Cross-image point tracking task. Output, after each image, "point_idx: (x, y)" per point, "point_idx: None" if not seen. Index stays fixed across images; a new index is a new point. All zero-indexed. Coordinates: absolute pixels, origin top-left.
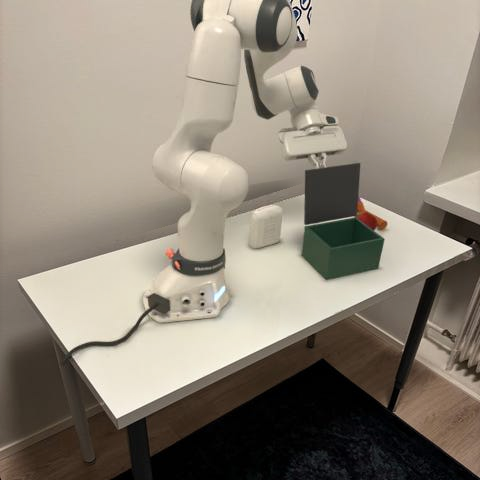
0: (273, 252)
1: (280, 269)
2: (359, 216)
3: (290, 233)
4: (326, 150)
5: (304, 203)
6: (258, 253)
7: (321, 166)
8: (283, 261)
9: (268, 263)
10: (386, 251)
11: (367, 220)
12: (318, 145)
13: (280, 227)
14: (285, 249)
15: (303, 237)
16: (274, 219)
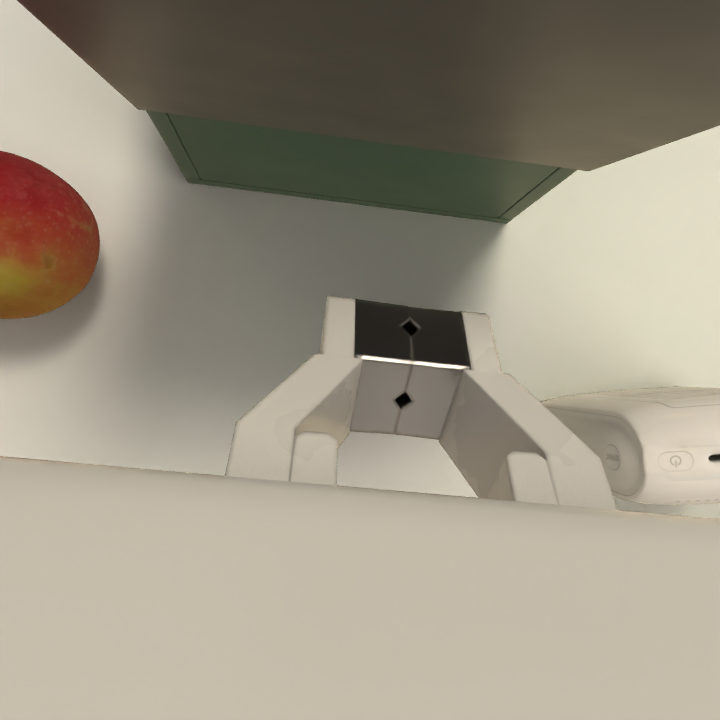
0: (619, 322)
1: (673, 161)
2: (25, 222)
3: (419, 468)
4: (213, 480)
5: (677, 138)
6: (693, 349)
7: (411, 317)
8: (620, 219)
9: (697, 238)
10: (38, 33)
11: (1, 164)
12: (420, 660)
13: (576, 406)
14: (545, 320)
15: (550, 189)
16: (676, 396)
